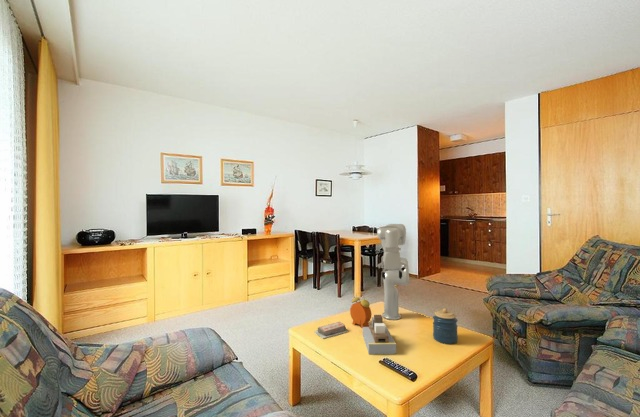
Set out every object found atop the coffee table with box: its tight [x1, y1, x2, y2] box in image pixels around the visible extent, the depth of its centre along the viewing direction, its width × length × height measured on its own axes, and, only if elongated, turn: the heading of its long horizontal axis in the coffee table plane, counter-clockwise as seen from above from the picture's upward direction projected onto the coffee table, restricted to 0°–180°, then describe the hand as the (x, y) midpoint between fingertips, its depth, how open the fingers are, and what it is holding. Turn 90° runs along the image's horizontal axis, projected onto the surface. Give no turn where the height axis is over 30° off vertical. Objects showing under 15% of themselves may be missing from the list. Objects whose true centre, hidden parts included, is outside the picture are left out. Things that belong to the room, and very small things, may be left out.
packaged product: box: [314, 321, 349, 340], centre depth 177 cm, size 18×5×10 cm
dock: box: [362, 326, 397, 355], centre depth 162 cm, size 22×14×5 cm, turn 0°
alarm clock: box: [349, 292, 372, 329], centre depth 188 cm, size 13×6×20 cm, turn 40°
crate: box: [374, 322, 386, 333], centre depth 158 cm, size 4×5×4 cm
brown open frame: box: [368, 314, 389, 343], centre depth 162 cm, size 19×7×10 cm, turn 0°
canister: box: [432, 307, 459, 345], centre depth 167 cm, size 13×13×18 cm
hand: (392, 278), depth 176 cm, fingers open, 9 cm apart
